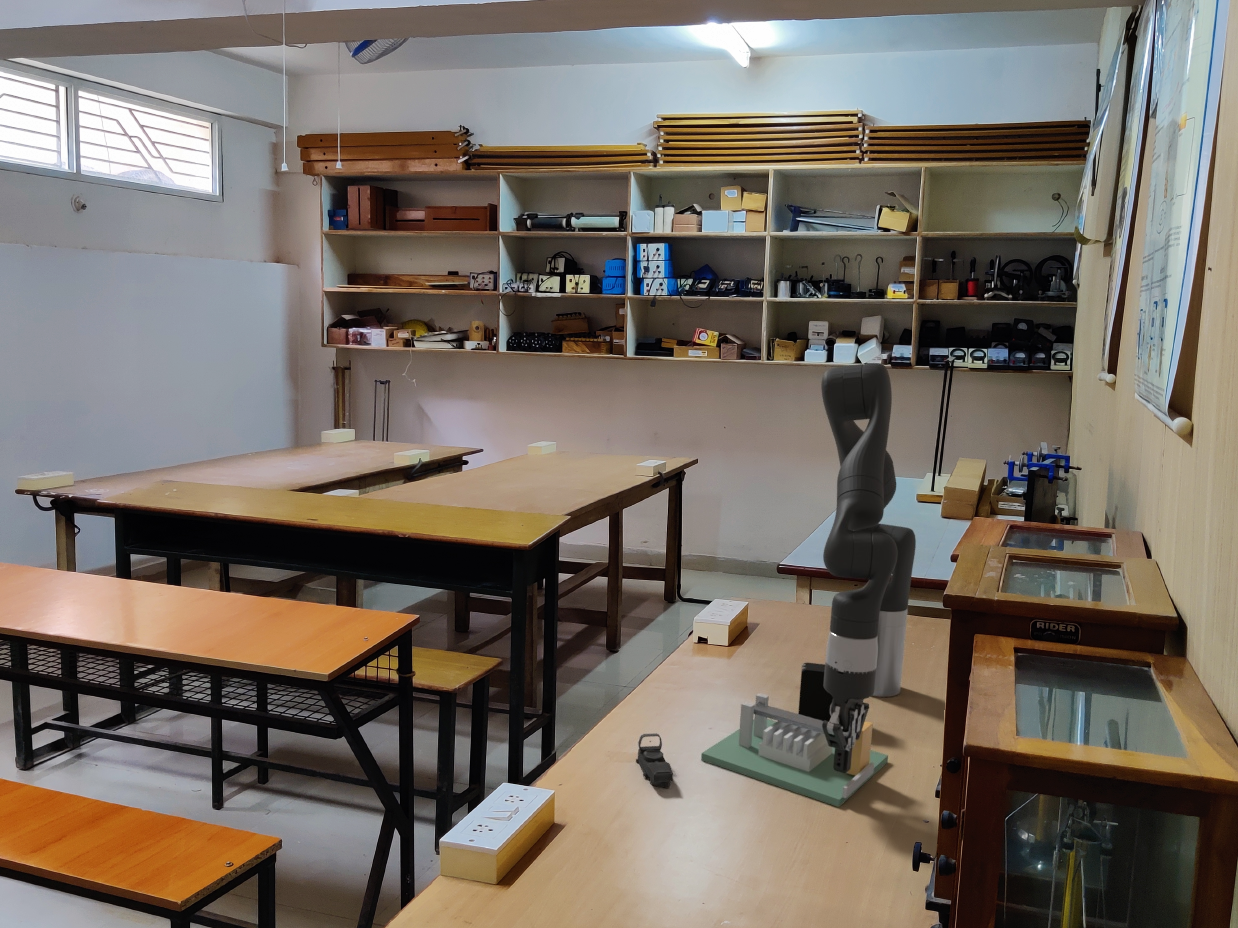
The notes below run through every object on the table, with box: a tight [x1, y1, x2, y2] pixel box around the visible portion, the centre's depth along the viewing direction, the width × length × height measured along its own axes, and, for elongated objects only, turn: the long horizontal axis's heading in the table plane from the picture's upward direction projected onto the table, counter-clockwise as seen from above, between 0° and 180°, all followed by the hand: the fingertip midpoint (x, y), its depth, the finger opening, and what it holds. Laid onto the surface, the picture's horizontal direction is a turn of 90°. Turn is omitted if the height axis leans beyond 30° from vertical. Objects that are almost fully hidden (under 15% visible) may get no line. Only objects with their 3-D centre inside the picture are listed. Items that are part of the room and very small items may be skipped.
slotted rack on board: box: [700, 692, 889, 808], centre depth 162 cm, size 20×25×8 cm
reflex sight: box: [635, 732, 674, 789], centre depth 155 cm, size 4×10×5 cm, turn 11°
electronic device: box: [797, 662, 833, 722], centre depth 179 cm, size 4×10×10 cm, turn 78°
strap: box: [753, 702, 824, 734], centre depth 162 cm, size 4×16×1 cm, turn 54°
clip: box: [846, 720, 874, 776], centre depth 157 cm, size 4×5×8 cm
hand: (841, 770), depth 151 cm, fingers closed
